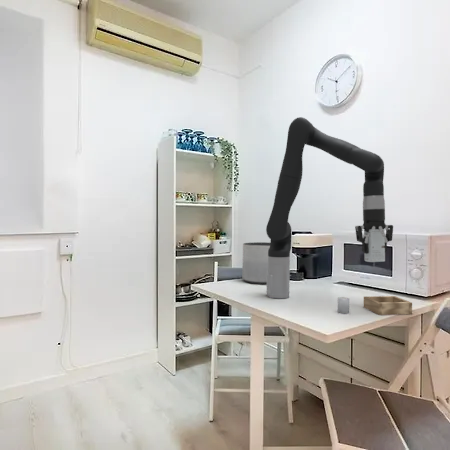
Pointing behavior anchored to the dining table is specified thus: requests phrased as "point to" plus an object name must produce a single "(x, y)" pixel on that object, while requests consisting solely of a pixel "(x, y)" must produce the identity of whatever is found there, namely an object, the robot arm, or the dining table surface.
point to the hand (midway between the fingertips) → (374, 252)
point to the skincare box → (375, 246)
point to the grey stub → (343, 305)
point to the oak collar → (387, 305)
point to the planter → (255, 262)
